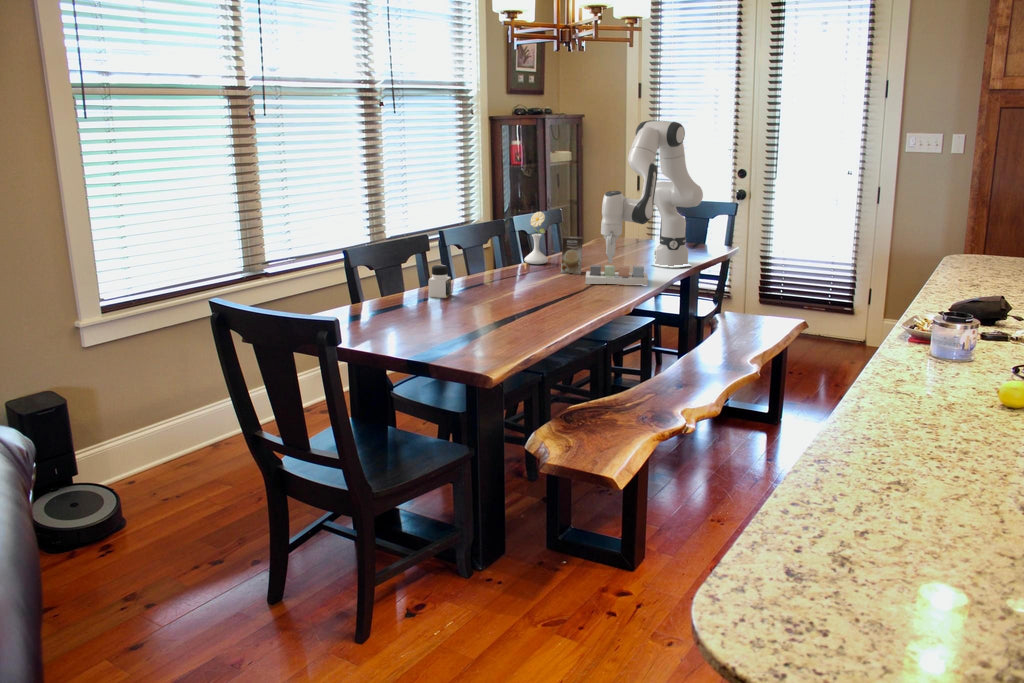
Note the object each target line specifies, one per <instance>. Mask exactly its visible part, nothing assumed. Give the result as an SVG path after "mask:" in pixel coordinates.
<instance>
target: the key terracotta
mask: <svg viewBox="0 0 1024 683" xmlns="http://www.w3.org/2000/svg"><path fill="white" fill-rule="evenodd" d="M618 272H619V274H618V276H628V277H629V273H630V265H619V266H618Z"/></svg>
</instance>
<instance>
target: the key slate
mask: <svg viewBox="0 0 1024 683" xmlns="http://www.w3.org/2000/svg"><path fill="white" fill-rule="evenodd" d="M644 271H645V268H644V266H640V265H639V266H635V265H633V266H632V273H633V277H643V275H644V273H645V272H644Z"/></svg>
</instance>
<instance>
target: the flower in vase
mask: <svg viewBox="0 0 1024 683" xmlns="http://www.w3.org/2000/svg"><path fill="white" fill-rule="evenodd" d="M544 221H546V215H545V214H544V212H542V211H536V212H535V213H533V214H532V216H531V217H530V226H532V229H533V230H534V231H535V232H536V233H532V234H531V237H532V238H533V250H532V251H531V252H529V254H527V255H526V256H525V257H524V259H523V260H524V262H525V263H527V264H529V265H530V264H531V265H543V264H546V263H548V262H549V259H548V257H547V256H546V255H545V254H544V253H543V252H541V250H540V239H541V237H542V236H543V234H545V233H546V230H545V228H544V227H542V224H543V223H544ZM537 227H540V228H539V230H538V229H536V228H537Z"/></svg>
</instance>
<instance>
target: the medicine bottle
mask: <svg viewBox="0 0 1024 683" xmlns="http://www.w3.org/2000/svg"><path fill="white" fill-rule="evenodd" d="M431 276H432V277H430V278H429V279H428V298H436V297H437V298H440V299H447V298H448V297H449V296H450V295H451V294H452V278H451V276H448V266H447V265H443V264H435V265H433V266H432V267H431Z"/></svg>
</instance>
